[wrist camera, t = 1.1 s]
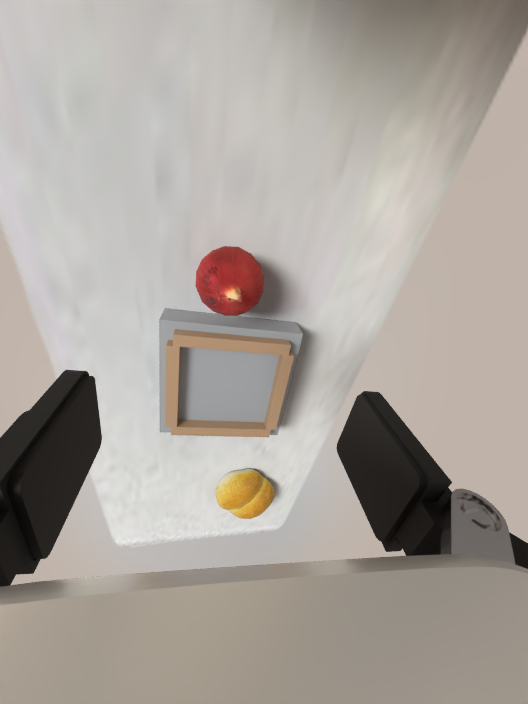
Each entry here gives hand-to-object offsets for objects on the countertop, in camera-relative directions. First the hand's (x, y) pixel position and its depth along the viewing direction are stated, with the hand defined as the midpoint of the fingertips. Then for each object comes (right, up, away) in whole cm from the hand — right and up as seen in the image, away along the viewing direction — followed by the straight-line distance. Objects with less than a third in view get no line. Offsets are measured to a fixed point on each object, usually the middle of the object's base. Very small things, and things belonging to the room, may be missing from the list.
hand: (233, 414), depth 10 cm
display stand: (-3, 0, +23) cm, 23 cm away
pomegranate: (-2, +10, +18) cm, 21 cm away
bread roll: (-2, -19, +34) cm, 39 cm away
